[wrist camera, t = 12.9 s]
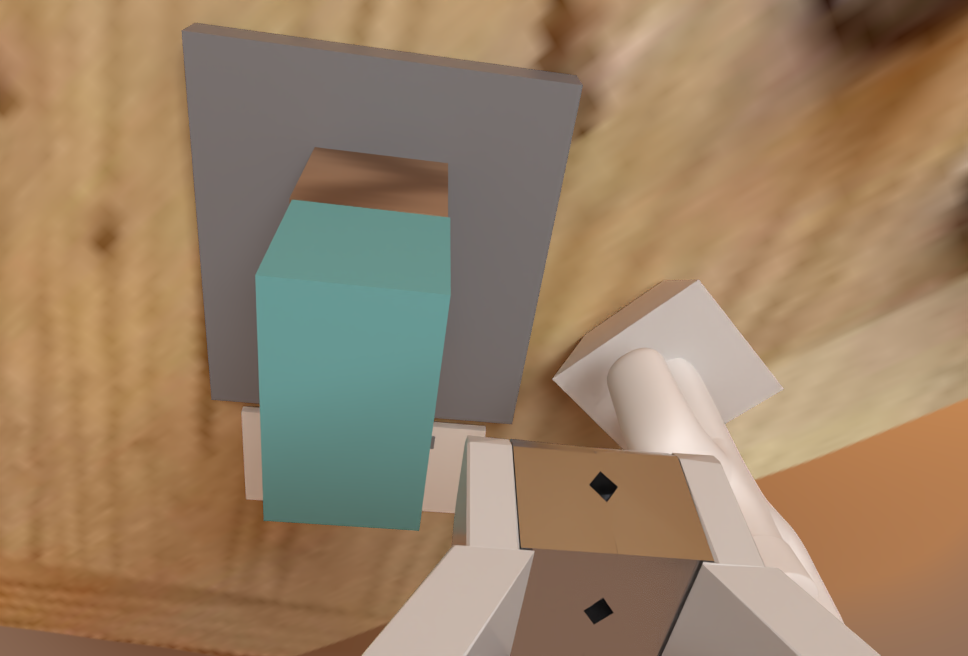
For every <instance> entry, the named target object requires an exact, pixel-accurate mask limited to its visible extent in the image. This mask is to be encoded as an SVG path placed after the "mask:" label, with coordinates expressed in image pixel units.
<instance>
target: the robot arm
mask: <svg viewBox="0 0 968 656" xmlns="http://www.w3.org/2000/svg"><path fill="white" fill-rule="evenodd" d="M361 656H881V655H879V654H878V653H877V652H876V651H875V650H874V649H872V648H871V647H870V646H869V645H868V644H867V643H865V642H864V641H863V640H862V639H861V638H860V637H858V636H857V635H856V634H855V633H854V632H852V631H851V630H850V629H849V628H848V627H847V626H846V625H844V624H843V623H842V622H841V621H840V620H839V619H837V618H836V617H835V616H834V615H833V614H832V613H830V612H829V611H828V610H827V609H826V608H825V607H823V606H822V605H821V604H820V603H819V602H818V601H816V600H815V599H814V598H813V597H812V596H811V595H809V594H808V593H807V592H806V591H805V590H804V589H802V588H801V587H800V586H799V585H798V584H797V583H795V582H794V581H793V580H792V579H791V578H790V577H788V576H787V575H786V574H785V573H784V572H783V571H781V570H780V569H779V568H773V567H765V565H764V562H763V560H762V558H761V555H760V553H759V551H758V548H757V546H756V544H755V541H754V539H753V537H752V534H751V532H750V530H749V528H748V525H747V523H746V521H745V518H744V516H743V514H742V511H741V509H740V507H739V504H738V502H737V500H736V497H735V495H734V493H733V490H732V488H731V486H730V483H729V481H728V479H727V477H726V474H725V472H724V470H723V467H722V465H721V463H720V461H719V460H718V459H717V458H716V457H714V456H713V455H698V454H682V453H672V454H669V453H659V452H646V451H632V450H619V449H606V448H592V447H582V446H572V445H563V444H554V443H544V442H535V441H525V440H516V439H510V441H509V440H508V439H499V438H489V437H480V436H471V435H468V436H467V438H466V441H465V445H464V452H463V459H462V465H461V472H460V479H459V485H458V492H457V499H456V507H455V517H454V526H453V536H452V547H451V548H450V549H449V550H448V552H447V553H446V554H445V555H444V557H443V558H442V559H441V560H440V561H439V563H438V564H437V565H436V566H435V567H434V569H433V570H432V571H431V572H430V573H429V575H428V576H427V577H426V578H425V579H424V581H423V582H422V583H421V584H420V585H419V587H418V588H417V589H416V590H415V591H414V593H413V594H412V595H411V596H410V597H409V599H408V600H407V601H406V602H405V603H404V605H403V606H402V607H401V608H400V609H399V611H398V612H397V613H396V614H395V615H394V617H393V618H392V619H391V620H390V621H389V623H388V624H387V625H386V626H385V628H384V629H383V630H382V631H381V632H380V634H379V635H378V636H377V637H376V638H375V640H374V641H373V642H372V643H371V644H370V646H369V647H368V648H367V649H366V650H365V652H364V653H363V654H362V655H361Z"/></svg>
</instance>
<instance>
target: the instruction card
mask: <svg viewBox="0 0 968 656" xmlns="http://www.w3.org/2000/svg"><path fill="white" fill-rule="evenodd" d="M241 415H242V434H243V453H244V471H245V490H246V499H249V500H263V486H262V457H261V428H260V408H258V407H245V406H243V408H242V411H241ZM485 433H486V426H480V425H468V424H455V423H443V422H434V423H433V431H432V438H431V446H430V453H429V460H428V468H427V475H426V483H425V490H424V498H423V505H422V511H428V512H443V513H455V507H456V499H457V492H458V485H459V479H460V472H461V465H462V459H463V452H464V445H465V441H466V438H467V436H468V435H471V436H480V437H485Z"/></svg>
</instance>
